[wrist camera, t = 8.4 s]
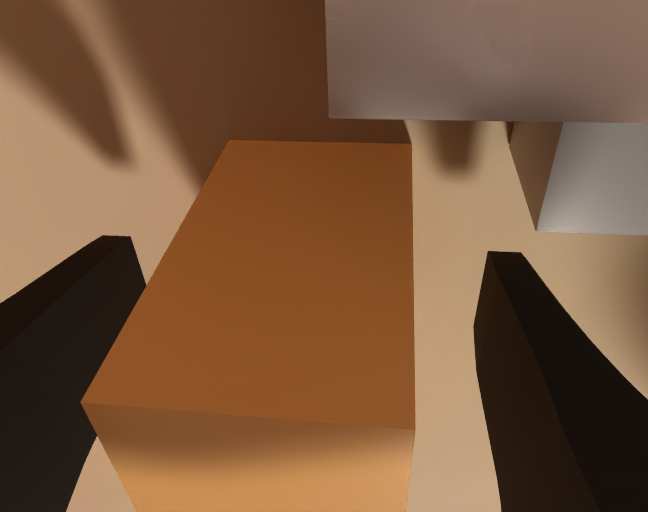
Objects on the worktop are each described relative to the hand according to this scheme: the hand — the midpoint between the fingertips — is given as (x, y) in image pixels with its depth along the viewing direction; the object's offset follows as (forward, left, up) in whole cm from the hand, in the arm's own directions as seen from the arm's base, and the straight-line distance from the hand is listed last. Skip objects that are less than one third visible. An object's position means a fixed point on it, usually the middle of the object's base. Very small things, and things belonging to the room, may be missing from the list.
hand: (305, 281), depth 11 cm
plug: (0, 0, -2) cm, 2 cm away
